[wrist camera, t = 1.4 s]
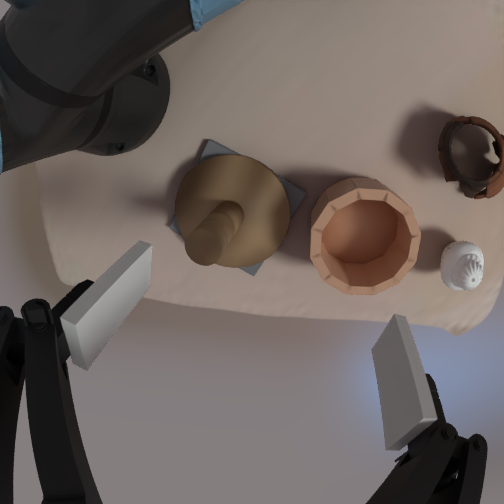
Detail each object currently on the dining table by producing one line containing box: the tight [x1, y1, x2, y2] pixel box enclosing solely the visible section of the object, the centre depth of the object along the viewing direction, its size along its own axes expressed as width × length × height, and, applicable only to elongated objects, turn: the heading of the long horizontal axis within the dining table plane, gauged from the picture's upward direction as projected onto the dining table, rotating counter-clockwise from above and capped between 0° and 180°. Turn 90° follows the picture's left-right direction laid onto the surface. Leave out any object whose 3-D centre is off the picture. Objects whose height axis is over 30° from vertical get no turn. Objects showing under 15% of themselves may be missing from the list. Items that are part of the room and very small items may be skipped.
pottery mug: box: [438, 116, 504, 199], centre depth 23 cm, size 12×9×8 cm
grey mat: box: [170, 140, 306, 276], centre depth 34 cm, size 12×12×1 cm
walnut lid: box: [175, 154, 290, 268], centre depth 29 cm, size 13×13×10 cm
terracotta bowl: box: [310, 177, 421, 295], centre depth 29 cm, size 11×11×6 cm
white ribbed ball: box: [440, 241, 484, 290], centre depth 28 cm, size 6×6×7 cm
